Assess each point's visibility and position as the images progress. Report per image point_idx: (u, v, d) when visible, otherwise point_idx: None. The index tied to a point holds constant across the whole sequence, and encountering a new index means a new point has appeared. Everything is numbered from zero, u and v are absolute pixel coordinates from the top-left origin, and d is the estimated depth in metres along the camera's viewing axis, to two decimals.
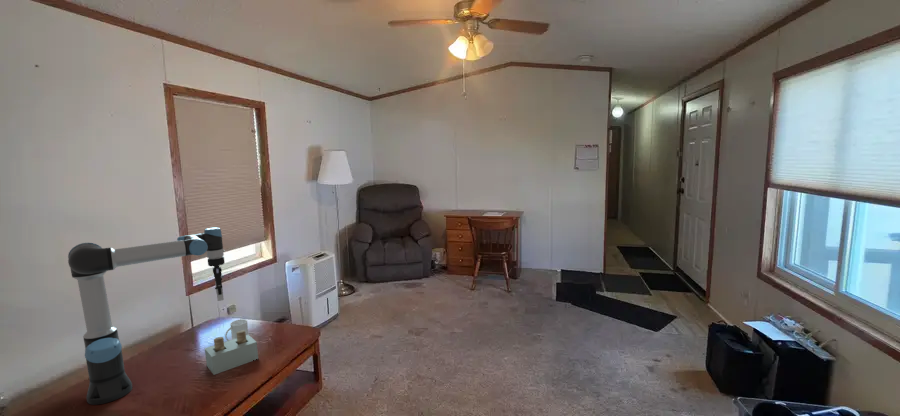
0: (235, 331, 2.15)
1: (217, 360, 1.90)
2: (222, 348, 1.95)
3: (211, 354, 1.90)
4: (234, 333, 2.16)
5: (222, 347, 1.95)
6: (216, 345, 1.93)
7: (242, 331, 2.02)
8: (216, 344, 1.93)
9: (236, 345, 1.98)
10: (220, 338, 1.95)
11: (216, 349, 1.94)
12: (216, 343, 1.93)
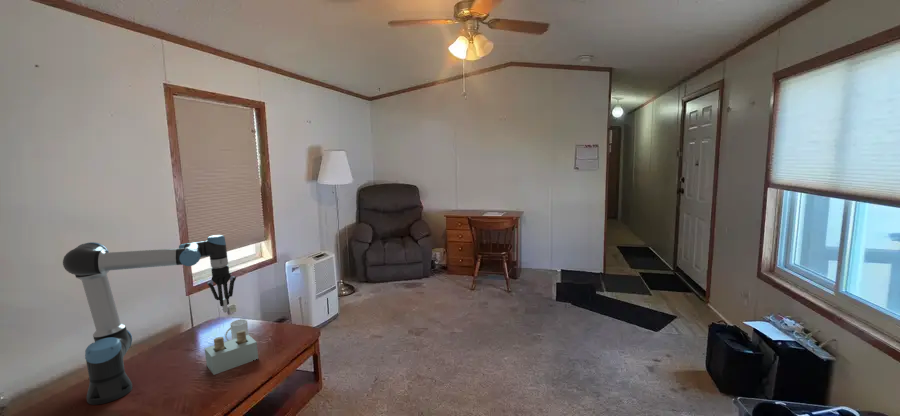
0: (235, 331, 2.15)
1: (217, 360, 1.90)
2: (222, 348, 1.95)
3: (211, 354, 1.90)
4: (234, 333, 2.16)
5: (222, 347, 1.95)
6: (216, 345, 1.93)
7: (242, 331, 2.02)
8: (216, 344, 1.93)
9: (236, 345, 1.98)
10: (220, 338, 1.95)
11: (216, 349, 1.94)
12: (216, 343, 1.93)
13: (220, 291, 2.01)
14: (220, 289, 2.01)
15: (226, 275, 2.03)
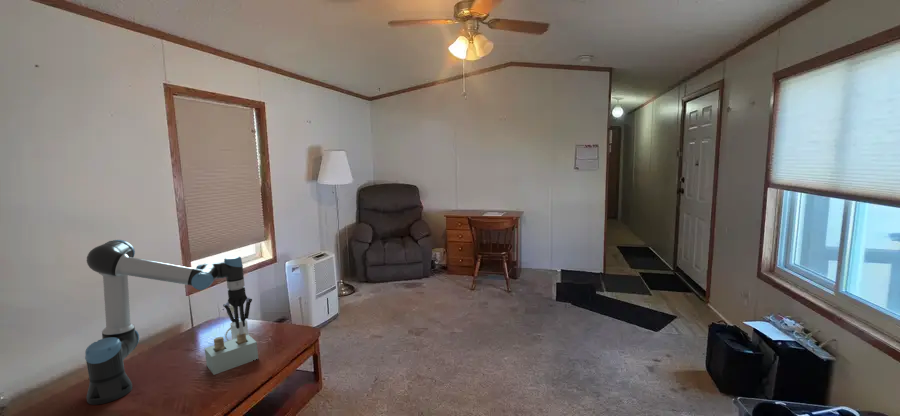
0: (235, 331, 2.15)
1: (217, 360, 1.90)
2: (222, 348, 1.95)
3: (211, 354, 1.90)
4: (234, 333, 2.16)
5: (222, 347, 1.95)
6: (216, 345, 1.93)
7: None
8: (216, 344, 1.93)
9: (236, 345, 1.98)
10: (220, 338, 1.95)
11: (216, 349, 1.94)
12: (216, 343, 1.93)
13: (236, 313, 1.98)
14: (236, 311, 1.98)
15: (242, 297, 2.00)
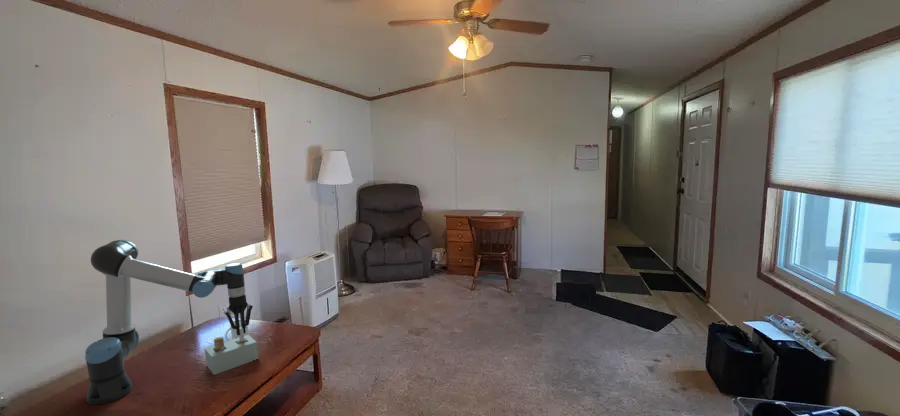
0: (235, 331, 2.15)
1: (217, 360, 1.90)
2: (222, 348, 1.95)
3: (211, 354, 1.90)
4: (234, 333, 2.16)
5: (222, 347, 1.95)
6: (216, 345, 1.93)
7: None
8: (216, 344, 1.93)
9: (236, 345, 1.98)
10: (220, 338, 1.95)
11: (216, 349, 1.94)
12: (216, 343, 1.93)
13: (237, 320, 1.99)
14: (237, 318, 1.99)
15: (243, 304, 2.00)
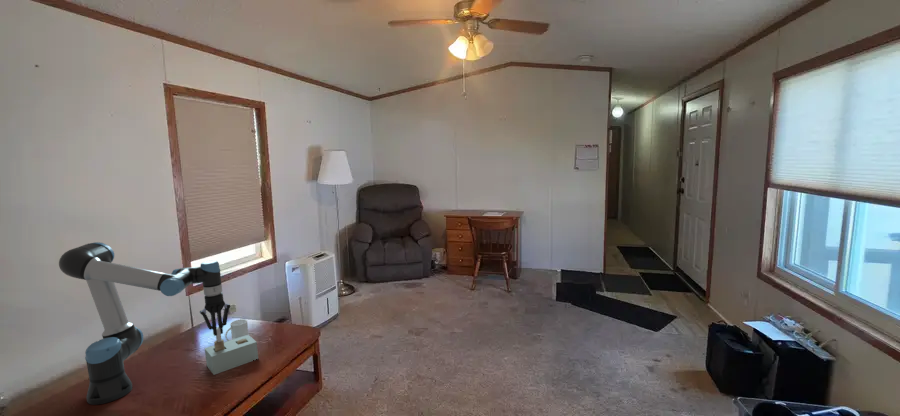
0: (235, 331, 2.15)
1: (217, 360, 1.90)
2: None
3: (211, 354, 1.90)
4: (234, 333, 2.16)
5: (223, 349, 1.95)
6: (216, 348, 1.93)
7: (243, 340, 2.03)
8: (216, 347, 1.93)
9: (236, 345, 1.98)
10: None
11: None
12: (216, 346, 1.93)
13: (213, 320, 1.92)
14: (213, 318, 1.92)
15: (220, 303, 1.93)
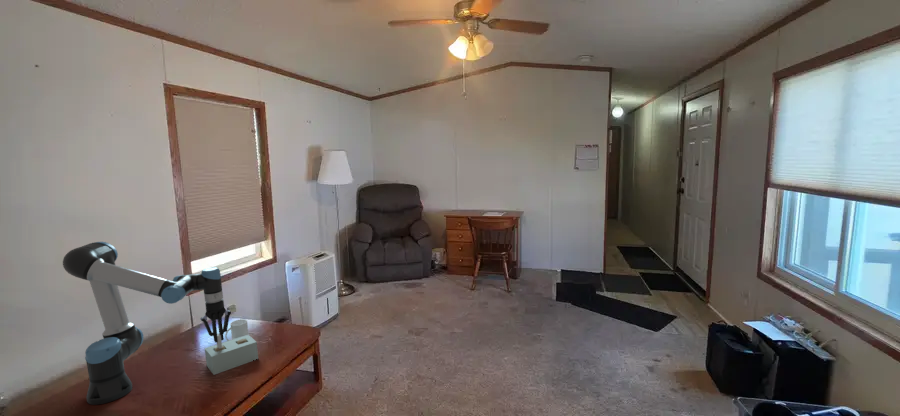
0: (235, 331, 2.15)
1: (217, 360, 1.90)
2: None
3: (211, 354, 1.90)
4: (234, 333, 2.16)
5: None
6: None
7: (243, 340, 2.03)
8: None
9: (236, 345, 1.98)
10: None
11: None
12: None
13: (214, 326, 1.92)
14: (214, 324, 1.92)
15: (221, 310, 1.94)
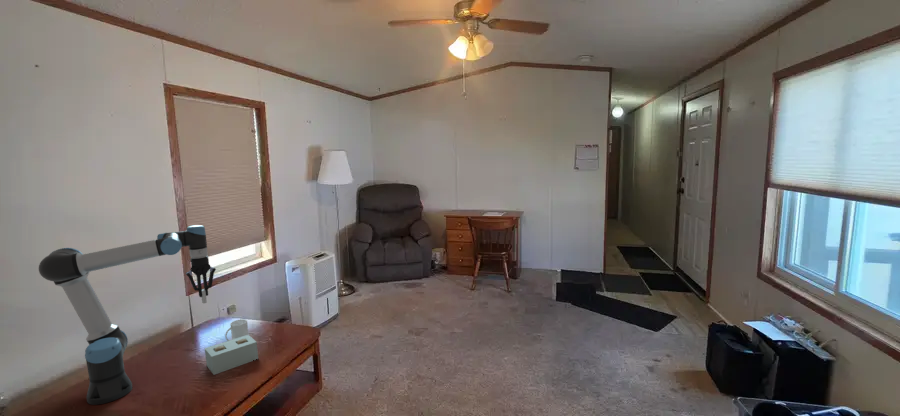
0: (235, 331, 2.15)
1: (217, 360, 1.90)
2: None
3: (211, 354, 1.90)
4: (234, 333, 2.16)
5: None
6: None
7: (243, 340, 2.03)
8: None
9: (236, 345, 1.98)
10: (221, 347, 1.96)
11: None
12: None
13: (199, 282, 2.00)
14: (199, 280, 2.00)
15: (205, 266, 2.01)
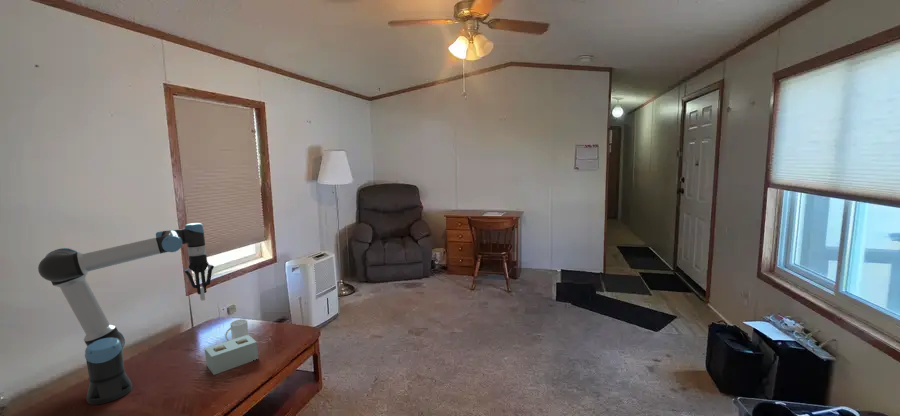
0: (235, 331, 2.15)
1: (217, 360, 1.90)
2: None
3: (211, 354, 1.90)
4: (234, 333, 2.16)
5: None
6: None
7: (243, 340, 2.03)
8: None
9: (236, 345, 1.98)
10: (221, 347, 1.96)
11: None
12: None
13: (197, 279, 2.01)
14: (197, 277, 2.01)
15: (204, 263, 2.03)
